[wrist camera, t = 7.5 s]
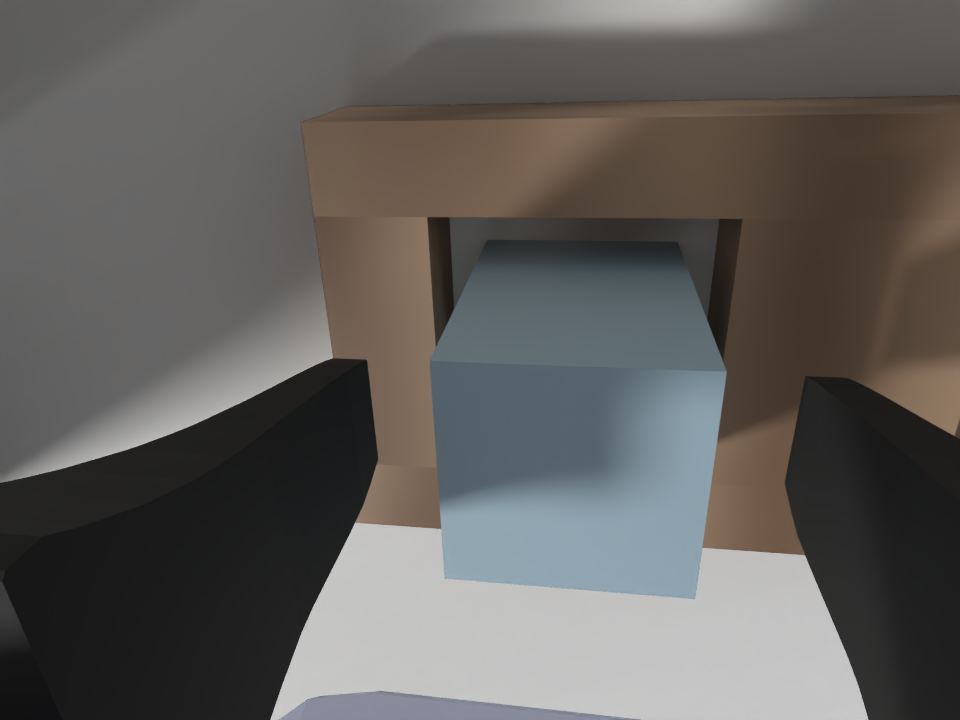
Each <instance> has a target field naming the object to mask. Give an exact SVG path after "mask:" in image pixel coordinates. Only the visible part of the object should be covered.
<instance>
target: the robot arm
mask: <svg viewBox="0 0 960 720" xmlns="http://www.w3.org/2000/svg"><path fill="white" fill-rule="evenodd" d="M377 462H378V451H377V442H376V434H375V425H374V416H373V407H372V398H371V389H370V381H369V372H368V363H367V360H366V359H339V358H333V359H330V360H327V361H324V362H322V363H320V364H317V365H315V366H313V367H311V368H309V369H307V370H305V371H303V372H301V373H299V374H297V375H295V376H293V377H291V378H289V379H287V380H285V381H283V382H281V383H279V384H277V385H275V386H274V387H272V388H270V389H268V390H266V391H264V392H262V393H260V394H258V395H256V396H254V397H252V398H250V399H248V400H246V401H244V402H242V403H240V404H238V405H235V406H233V407H231V408H229V409H227V410H225V411H223V412H221V413H218V414H216V415H214V416H212V417H210V418H208V419H206V420H204V421H201V422H199V423H197V424H195V425H192V426H190V427H187V428H185V429H183V430H180V431H178V432H175V433H173V434H170V435H167V436H165V437H162V438H159V439H157V440H154V441H151V442H148V443H146V444H143V445H140V446H137V447H134V448H131V449H128V450H125V451H122V452H119V453H115V454H112V455H108V456H105V457H102V458H98V459H95V460H91V461H88V462H85V463H81V464H78V465H74V466H71V467H68V468H64V469H60V470H56V471H52V472H48V473H43V474H39V475H35V476H31V477H27V478H22V479H17V480H13V481H8V482H3V483H0V720H270V719H271V716H272V713H273V710H274V707H275V704H276V701H277V698H278V695H279V692H280V689H281V687H282V684H283V681H284V678H285V676H286V673H287V670H288V668H289V665H290V662H291V659H292V657H293V654H294V651H295V649H296V646H297V643H298V641H299V638H300V635H301V632H302V630H303V628H304V626H305V623H306V621H307V619H308V617H309V614H310V612H311V610H312V608H313V606H314V604H315V602H316V600H317V598H318V596H319V594H320V592H321V590H322V588H323V586H324V584H325V582H326V580H327V578H328V576H329V574H330V572H331V570H332V568H333V566H334V564H335V562H336V560H337V558H338V556H339V554H340V552H341V550H342V548H343V546H344V544H345V542H346V540H347V538H348V536H349V534H350V532H351V530H352V528H353V526H354V524H355V522H356V520H357V518H358V516H359V514H360V511H361V509H362V507H363V505H364V502H365V499H366V496H367V493H368V490H369V487H370V485H371V481H372V478H373V475H374V471H375V468H376V465H377ZM785 487H786V492H787V496H788V500H789V505H790V509H791V513H792V517H793V521H794V525H795V528H796V532H797V536H798V538H799V541H800V543H801V546H802V548H803V551H804V553H805V556H806V558H807V561H808V563H809V565H810V568H811V570H812V573H813V575H814V578H815V580H816V582H817V585H818V587H819V589H820V592H821V594H822V597H823V599H824V601H825V604H826V606H827V608H828V611H829V613H830V615H831V618H832V620H833V623H834V625H835V627H836V630H837V632H838V634H839V637H840V639H841V642H842V644H843V646H844V649H845V651H846V653H847V656H848V658H849V661H850V664H851V666H852V669H853V672H854V675H855V677H856V680H857V683H858V685H859V688H860V692H861V695H862V699H863V702H864V705H865V709H866V712H867V715H868V719H869V720H960V439H959V438H957V437H955V436H954V435H952V434H950V433H948V432H946V431H945V430H943V429H941V428H939V427H937V426H936V425H934V424H932V423H930V422H929V421H927V420H925V419H923V418H922V417H920V416H918V415H916V414H915V413H913V412H911V411H909V410H908V409H906V408H904V407H902V406H901V405H899V404H897V403H895V402H894V401H892V400H890V399H888V398H887V397H885V396H883V395H881V394H879V393H878V392H876V391H874V390H872V389H870V388H868V387H866V386H864V385H862V384H860V383H858V382H856V381H854V380H851V379H849V378H842V377H815V376H805V380H804V385H803V390H802V396H801V401H800V406H799V411H798V416H797V421H796V426H795V432H794V437H793V442H792V447H791V452H790V457H789V462H788V468H787V473H786V478H785ZM279 720H639V719H630V718H621V717H612V716H603V715H594V714H584V713H575V712H566V711H557V710H548V709H539V708H530V707H521V706H512V705H503V704H494V703H485V702H476V701H467V700H458V699H449V698H439V697H430V696H421V695H412V694H403V693H394V692H385V691H376V692H364V693H352V694H340V695H328V696H320V697H315V698H311V699H307V700H306V701H305V702H303V703H302V704H300V705H299V706H298V707H296V708H295V709H293V710H292V711H291V712H289V713H288V714H286V715H285V716H284V717H282V718H281V719H279Z"/></svg>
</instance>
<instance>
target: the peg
mask: <svg viewBox="0 0 960 720" xmlns="http://www.w3.org/2000/svg"><path fill="white" fill-rule="evenodd" d="M429 362H430V376H431V390H432V404H433V419H434V433H435V447H436V461H437V475H438V489H439V503H440V517H441V531H442V546H443V560H444V574H445V578H446V579H458V580H470V581H482V582H494V583H507V584H519V585H531V586H543V587H555V588H567V589H579V590H591V591H604V592H616V593H628V594H640V595H652V596H664V597H676V598H688V599H695V596H696V589H697V582H698V575H699V568H700V560H701V553H702V546H703V539H704V532H705V525H706V517H707V510H708V503H709V496H710V489H711V482H712V474H713V467H714V460H715V453H716V446H717V438H718V431H719V424H720V417H721V410H722V403H723V395H724V388H725V381H726V374H727V371H726V368H725V366H724V363H723V360H722V358H721V355H720V353H719V350H718V347H717V345H716V342H715V339H714V337H713V334H712V331H711V329H710V326H709V324H708V321H707V318H706V316H705V313H704V310H703V308H702V305H701V302H700V300H699V297H698V294H697V292H696V289H695V287H694V284H693V281H692V279H691V276H690V273H689V271H688V268H687V265H686V263H685V260H684V258H683V255H682V252H681V250H680V247H679V244H678V242H659V241H563V240H487V242H486V244H485V246H484V248H483V250H482V252H481V254H480V256H479V259H478V261H477V263H476V265H475V267H474V269H473V271H472V273H471V275H470V277H469V279H468V282H467V284H466V286H465V288H464V290H463V292H462V294H461V296H460V298H459V300H458V302H457V304H456V307H455V309H454V311H453V313H452V315H451V317H450V319H449V321H448V323H447V325H446V327H445V330H444V332H443V334H442V336H441V338H440V340H439V342H438V344H437V346H436V348H435V350H434V352H433V355H432V357H431V359H430V361H429Z"/></svg>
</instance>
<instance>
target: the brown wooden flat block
mask: <svg viewBox="0 0 960 720" xmlns="http://www.w3.org/2000/svg"><path fill="white" fill-rule="evenodd" d="M301 128H302V136H303V143H304V150H305V157H306V164H307V172H308V179H309V186H310V193H311V201H312V208H313V215H314V222H315V230H316V237H317V244H318V251H319V259H320V266H321V273H322V280H323V287H324V295H325V302H326V309H327V316H328V324H329V331H330V338H331V345H332V353H333V358H339V359H366V360H367V363H368V372H369V381H370V389H371V398H372V407H373V416H374V425H375V434H376V442H377V451H378V462H377V465H376V468H375V471H374V475H373V478H372V481H371V485H370V487H369V490H368V493H367V496H366V499H365V502H364V505H363V507H362V509H361V511H360V514H359V516H358V518H357V520H356V523H368V524H382V525H396V526H410V527H424V528H437V529H441V517H440V503H439V489H438V475H437V461H436V447H435V433H434V419H433V404H432V390H431V376H430V362H429V361H430V359H431V357H432V355H433V352H434V350H435V348H436V346H437V344H438V342H439V340H440V338H441V336H442V334H443V332H444V330H445V327H446V325H447V323H448V321H449V319H450V317H451V315H452V313H453V311H454V309H455V307H456V304H457V302H458V300H459V298H460V296H461V294H462V292H463V290H464V288H465V286H466V284H467V282H468V279H469V277H470V275H471V273H472V271H473V269H474V267H475V265H476V263H477V261H478V259H479V256H480V254H481V252H482V250H483V248H484V246H485V244H486V242H487V240H563V241H659V242H678V244H679V247H680V250H681V252H682V255H683V258H684V260H685V263H686V265H687V268H688V271H689V273H690V276H691V279H692V281H693V284H694V287H695V289H696V292H697V294H698V297H699V300H700V302H701V305H702V308H703V310H704V313H705V316H706V318H707V321H708V324H709V326H710V329H711V331H712V334H713V337H714V339H715V342H716V345H717V347H718V350H719V353H720V355H721V358H722V360H723V363H724V366H725V368H726V371H727V374H726V381H725V388H724V395H723V403H722V410H721V417H720V424H719V431H718V438H717V446H716V453H715V460H714V467H713V474H712V482H711V489H710V496H709V503H708V510H707V517H706V525H705V532H704V539H703V546H702V548H715V549H729V550H743V551H757V552H771V553H785V554H798V555H805V553H804V551H803V548H802V546H801V543H800V541H799V538H798V536H797V532H796V528H795V525H794V521H793V517H792V513H791V509H790V505H789V500H788V496H787V492H786V487H785V478H786V473H787V468H788V462H789V457H790V452H791V447H792V442H793V437H794V432H795V426H796V421H797V416H798V411H799V406H800V401H801V396H802V390H803V385H804V380H805V376H815V377H842V378H849V379H851V380H854V381H856V382H858V383H860V384H862V385H864V386H866V387H868V388H870V389H872V390H874V391H876V392H878V393H879V394H881V395H883V396H885V397H887V398H888V399H890V400H892V401H894V402H895V403H897V404H899V405H901V406H902V407H904V408H906V409H908V410H909V411H911V412H913V413H915V414H916V415H918V416H920V417H922V418H923V419H925V420H927V421H929V422H930V423H932V424H934V425H936V426H937V427H939V428H941V429H943V430H945V431H946V432H948V433H950V434H952V435H954V436H955V437H957V438H959V439H960V96H912V97H857V98H802V99H746V100H691V101H636V102H581V103H526V104H470V105H415V106H360V107H343V108H340V109H337V110H335V111H332V112H329V113H326V114H323V115H320V116H318V117H315V118H312V119H309V120H306V121H303V122H301Z"/></svg>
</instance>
